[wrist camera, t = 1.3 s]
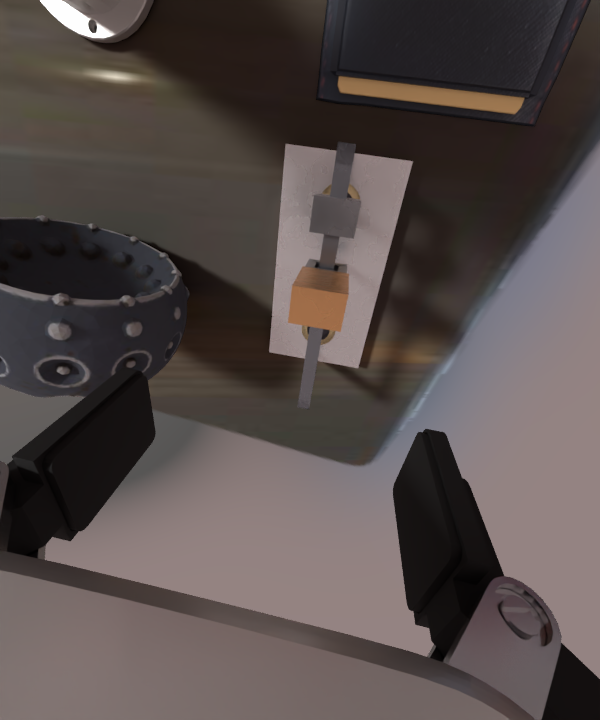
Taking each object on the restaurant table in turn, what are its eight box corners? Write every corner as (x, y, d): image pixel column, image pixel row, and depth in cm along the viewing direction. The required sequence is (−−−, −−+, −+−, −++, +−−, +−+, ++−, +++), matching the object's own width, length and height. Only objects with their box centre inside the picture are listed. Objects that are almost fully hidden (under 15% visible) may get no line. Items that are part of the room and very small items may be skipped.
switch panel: (288, 145, 30) (254, 127, 20) (410, 162, 30) (443, 152, 19) (271, 346, 42) (245, 403, 32) (357, 362, 41) (360, 425, 31)
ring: (61, 201, 36) (-195, 221, 19) (221, 266, 37) (113, 339, 20) (66, 284, 42) (-129, 356, 25) (205, 338, 43) (110, 442, 26)
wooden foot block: (315, 243, 32) (292, 285, 19) (349, 248, 32) (348, 294, 19) (311, 267, 33) (287, 322, 21) (344, 273, 33) (340, 331, 20)
